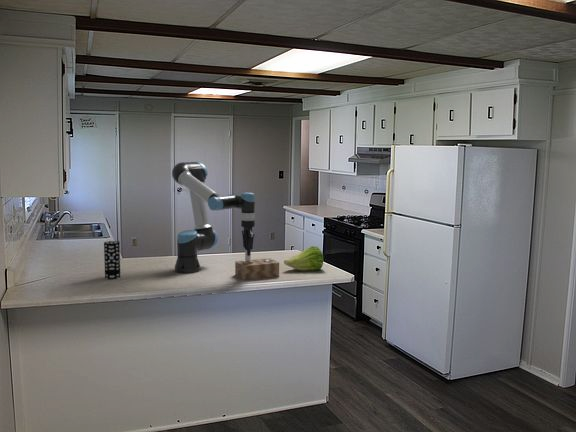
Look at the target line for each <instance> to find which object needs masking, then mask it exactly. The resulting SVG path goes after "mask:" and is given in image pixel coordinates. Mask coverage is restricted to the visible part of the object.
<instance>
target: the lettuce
mask: <svg viewBox="0 0 576 432" xmlns="http://www.w3.org/2000/svg"><path fill="white" fill-rule="evenodd" d="M324 261H325V260H324V254H323V252H322V250H321V249H320V248H319V247H318V246H314V245H313V246H310V247H308V248H306V249H305V250H303V251H301V252H300V253H298V254H296V255H295V254H294V255H293V256H290V257H289V258H286V259H283V264H284V265H285V266H287V267H290V268H292V269H295V270H297V271H301V272H302V271H303V272H307V271H309V272H310V271H311V272H312V271H313V272H314V271H318V270H321V269H322V268H323V265H324Z"/></svg>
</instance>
